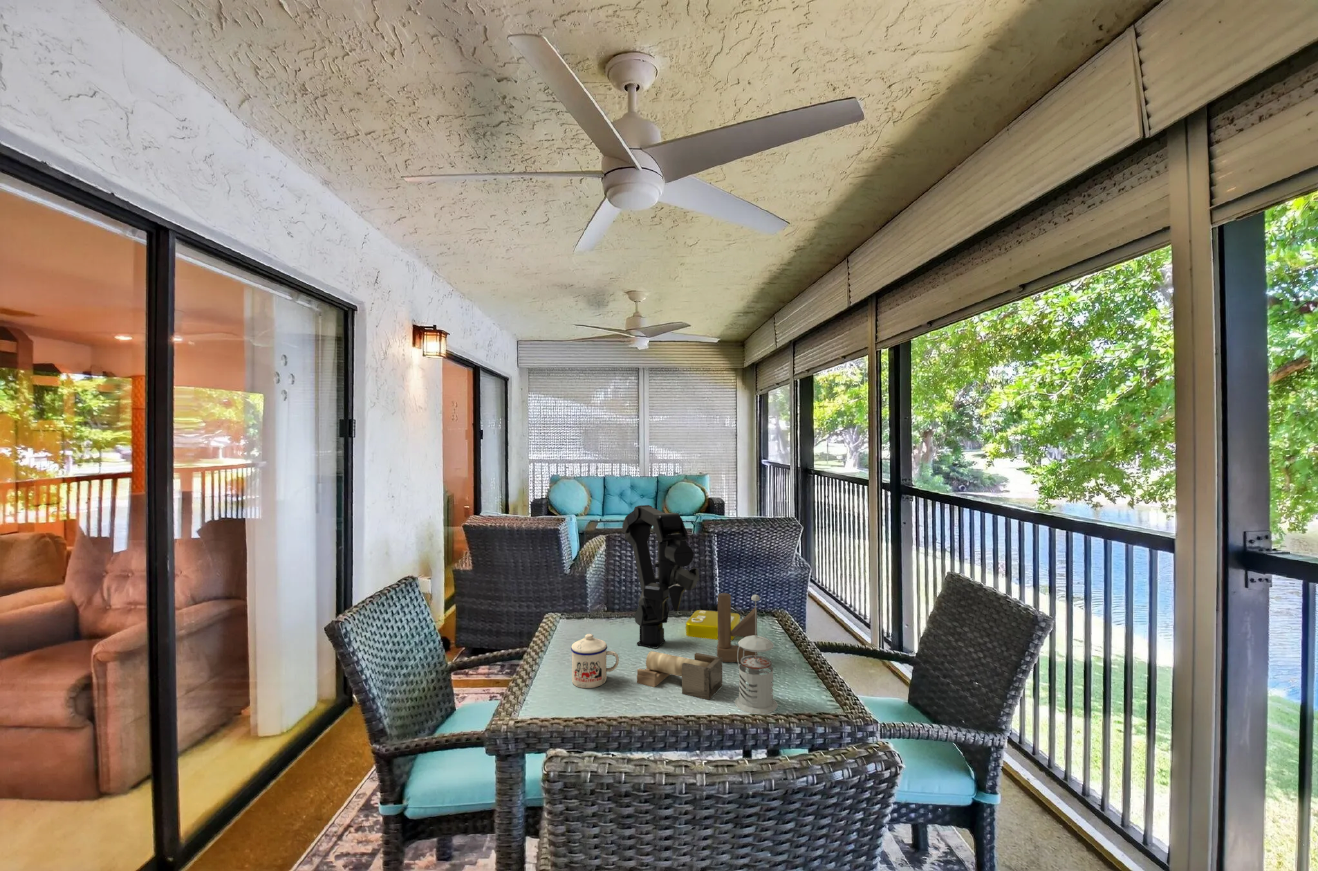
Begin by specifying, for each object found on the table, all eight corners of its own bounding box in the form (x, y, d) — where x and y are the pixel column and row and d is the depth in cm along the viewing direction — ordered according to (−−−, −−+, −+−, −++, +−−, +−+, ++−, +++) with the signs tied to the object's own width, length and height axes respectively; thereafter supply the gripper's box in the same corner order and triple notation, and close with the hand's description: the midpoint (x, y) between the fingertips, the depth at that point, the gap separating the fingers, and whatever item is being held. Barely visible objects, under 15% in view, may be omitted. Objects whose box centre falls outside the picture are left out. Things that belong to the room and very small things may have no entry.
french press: (749, 717, 123) (749, 602, 123) (722, 695, 133) (722, 589, 133) (786, 708, 127) (786, 597, 127) (757, 687, 137) (757, 585, 137)
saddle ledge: (636, 682, 140) (636, 670, 140) (653, 670, 147) (653, 658, 148) (654, 687, 138) (654, 674, 138) (670, 674, 145) (670, 661, 145)
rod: (644, 669, 141) (647, 651, 143) (652, 668, 145) (655, 650, 146) (703, 682, 134) (705, 662, 135) (710, 681, 138) (712, 662, 139)
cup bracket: (682, 693, 134) (681, 664, 134) (696, 680, 142) (696, 652, 142) (708, 700, 131) (708, 669, 131) (722, 685, 138) (722, 657, 138)
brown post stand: (757, 663, 152) (757, 596, 152) (717, 662, 153) (717, 596, 153) (756, 658, 156) (755, 593, 156) (717, 657, 156) (716, 592, 156)
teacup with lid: (569, 689, 137) (569, 641, 137) (572, 673, 146) (572, 629, 146) (618, 688, 137) (618, 640, 137) (619, 672, 146) (619, 627, 146)
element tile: (732, 642, 168) (732, 626, 168) (684, 637, 173) (684, 621, 173) (741, 626, 183) (740, 611, 183) (696, 622, 187) (696, 607, 187)
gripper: (679, 569, 143) (679, 630, 143) (708, 555, 160) (708, 610, 160) (641, 564, 149) (641, 623, 148) (673, 551, 165) (673, 605, 165)
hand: (668, 615), depth 155 cm, fingers open, 9 cm apart
